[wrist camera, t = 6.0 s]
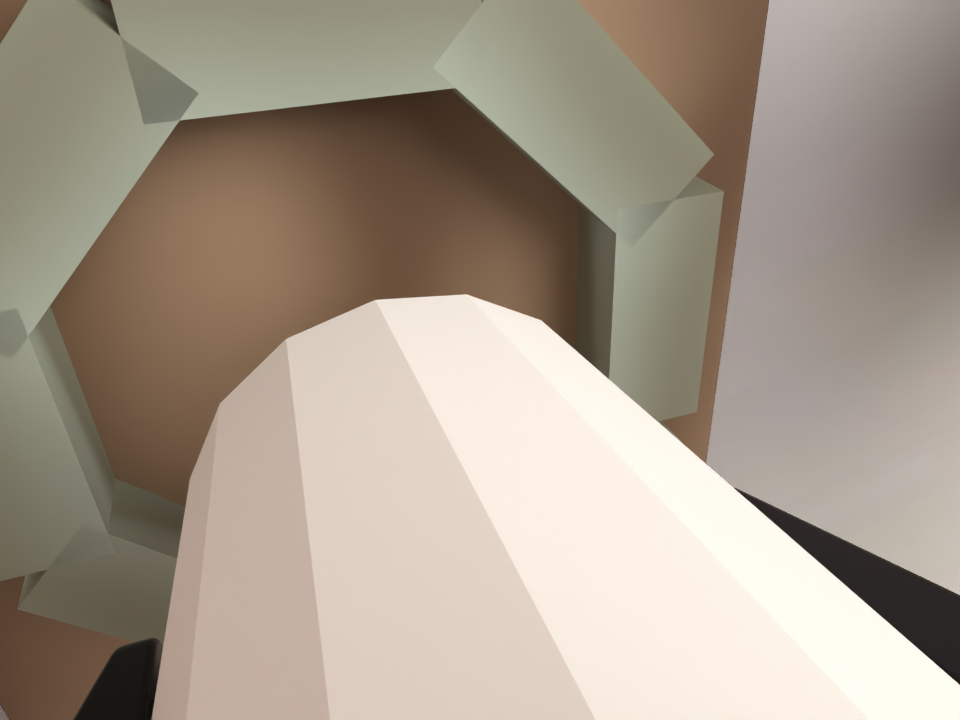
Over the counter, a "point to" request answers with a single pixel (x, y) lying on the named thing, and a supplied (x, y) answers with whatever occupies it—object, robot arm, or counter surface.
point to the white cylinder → (495, 549)
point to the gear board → (322, 240)
